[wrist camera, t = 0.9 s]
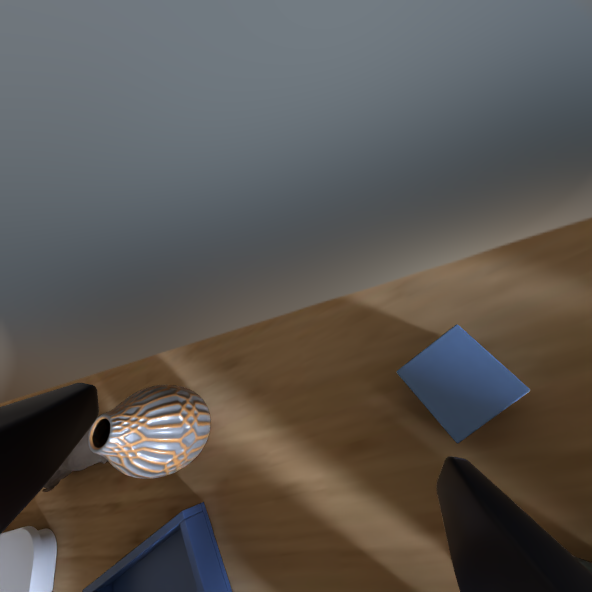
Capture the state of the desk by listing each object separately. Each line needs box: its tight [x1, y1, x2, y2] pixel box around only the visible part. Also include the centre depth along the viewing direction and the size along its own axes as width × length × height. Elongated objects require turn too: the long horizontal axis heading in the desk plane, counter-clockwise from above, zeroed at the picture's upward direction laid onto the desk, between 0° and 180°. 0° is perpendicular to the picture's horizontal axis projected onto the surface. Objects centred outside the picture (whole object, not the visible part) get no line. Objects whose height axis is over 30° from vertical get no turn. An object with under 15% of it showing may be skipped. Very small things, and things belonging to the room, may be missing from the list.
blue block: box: [397, 325, 530, 443], centre depth 17 cm, size 4×4×4 cm
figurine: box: [43, 427, 108, 492], centre depth 28 cm, size 6×4×12 cm
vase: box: [88, 385, 211, 479], centre depth 22 cm, size 7×7×9 cm
